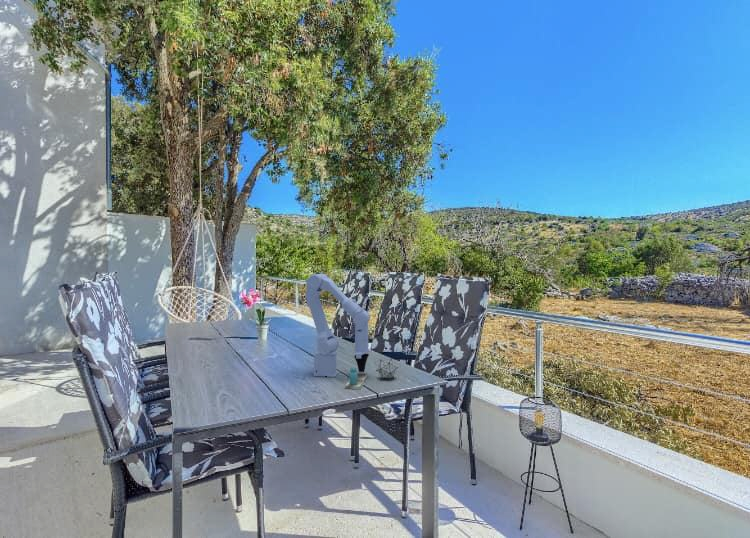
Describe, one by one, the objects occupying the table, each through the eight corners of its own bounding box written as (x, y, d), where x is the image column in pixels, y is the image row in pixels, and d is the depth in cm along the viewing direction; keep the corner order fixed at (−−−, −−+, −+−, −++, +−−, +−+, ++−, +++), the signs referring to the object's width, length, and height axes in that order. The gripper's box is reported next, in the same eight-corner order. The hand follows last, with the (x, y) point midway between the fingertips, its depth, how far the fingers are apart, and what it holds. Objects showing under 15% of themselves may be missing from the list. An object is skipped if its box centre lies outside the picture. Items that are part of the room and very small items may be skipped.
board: (344, 388, 153) (344, 385, 153) (353, 375, 171) (353, 373, 171) (359, 389, 152) (359, 386, 152) (367, 376, 170) (367, 373, 170)
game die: (390, 388, 166) (395, 373, 160) (371, 380, 167) (376, 364, 161) (396, 373, 173) (402, 358, 167) (379, 365, 174) (383, 350, 168)
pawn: (348, 385, 154) (348, 367, 154) (350, 382, 157) (350, 365, 156) (356, 385, 153) (356, 368, 153) (358, 383, 156) (357, 366, 156)
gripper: (368, 343, 161) (368, 376, 161) (373, 336, 175) (373, 367, 175) (351, 342, 162) (351, 376, 162) (357, 336, 176) (357, 366, 176)
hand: (361, 371), depth 169 cm, fingers closed
